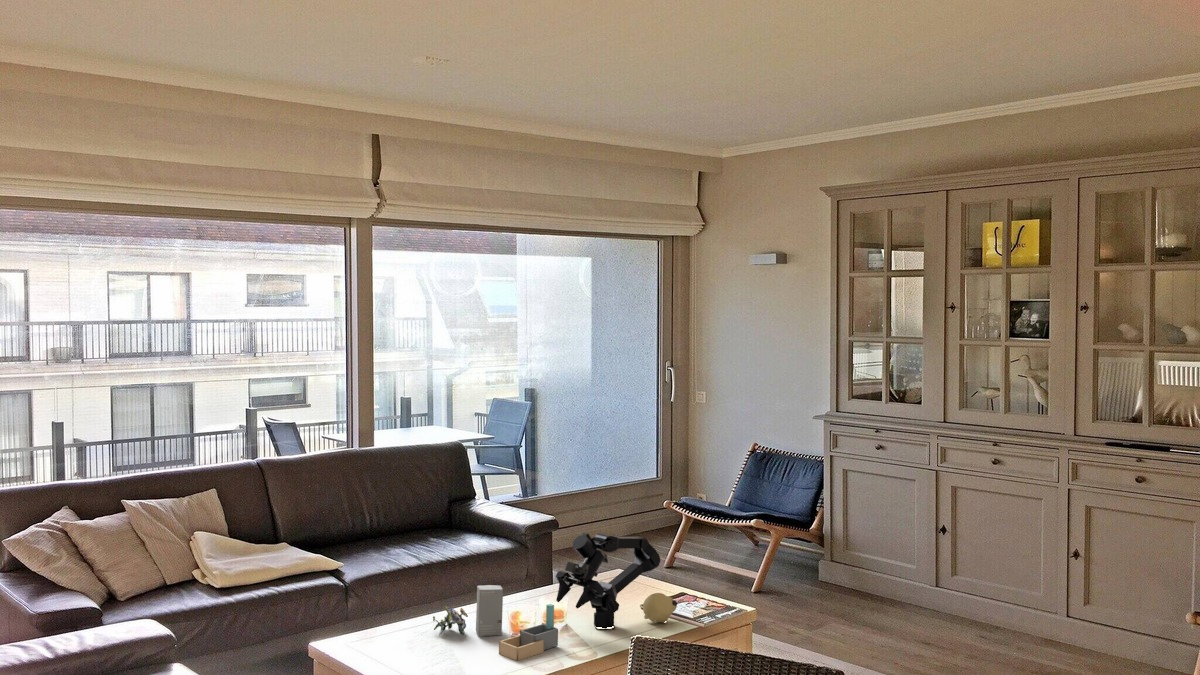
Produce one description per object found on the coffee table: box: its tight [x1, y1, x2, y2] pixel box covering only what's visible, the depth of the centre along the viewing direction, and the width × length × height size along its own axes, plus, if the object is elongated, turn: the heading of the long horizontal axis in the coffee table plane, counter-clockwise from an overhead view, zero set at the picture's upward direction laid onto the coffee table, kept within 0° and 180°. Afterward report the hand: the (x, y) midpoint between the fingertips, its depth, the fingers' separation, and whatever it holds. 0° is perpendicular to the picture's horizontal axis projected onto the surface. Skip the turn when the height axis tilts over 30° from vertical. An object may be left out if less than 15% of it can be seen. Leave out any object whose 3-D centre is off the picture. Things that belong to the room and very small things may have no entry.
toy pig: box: [642, 592, 678, 624], centre depth 345 cm, size 10×12×11 cm
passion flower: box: [432, 606, 468, 636], centre depth 329 cm, size 11×11×12 cm
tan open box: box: [498, 634, 544, 662], centre depth 311 cm, size 11×9×4 cm
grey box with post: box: [519, 603, 559, 651], centre depth 317 cm, size 11×7×13 cm, turn 136°
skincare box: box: [475, 584, 504, 638], centre depth 331 cm, size 8×7×16 cm
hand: (566, 604), depth 325 cm, fingers open, 9 cm apart
